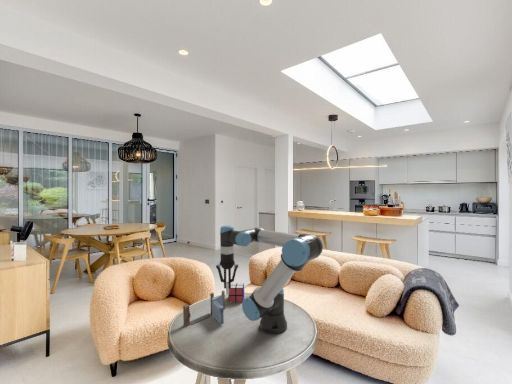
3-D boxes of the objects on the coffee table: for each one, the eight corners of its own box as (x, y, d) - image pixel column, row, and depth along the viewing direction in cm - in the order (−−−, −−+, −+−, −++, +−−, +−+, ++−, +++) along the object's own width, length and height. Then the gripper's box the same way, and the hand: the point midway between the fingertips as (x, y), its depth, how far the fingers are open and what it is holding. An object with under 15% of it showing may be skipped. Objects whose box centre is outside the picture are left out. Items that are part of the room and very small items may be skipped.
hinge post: (215, 313, 172) (214, 292, 172) (212, 315, 170) (211, 294, 170) (212, 312, 174) (212, 291, 173) (209, 313, 172) (209, 293, 172)
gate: (212, 313, 170) (211, 298, 170) (214, 313, 171) (214, 297, 170) (220, 324, 157) (220, 307, 157) (223, 323, 158) (223, 307, 158)
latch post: (190, 325, 158) (190, 305, 158) (186, 327, 156) (186, 307, 156) (187, 323, 160) (187, 304, 160) (183, 325, 158) (183, 305, 158)
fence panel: (225, 308, 179) (225, 291, 178) (215, 313, 173) (215, 295, 172) (223, 307, 180) (223, 290, 180) (213, 312, 174) (213, 294, 174)
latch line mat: (212, 315, 170) (212, 315, 170) (191, 325, 159) (191, 324, 159) (208, 313, 172) (208, 313, 172) (187, 323, 161) (187, 322, 161)
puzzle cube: (243, 302, 188) (243, 288, 188) (228, 302, 188) (228, 288, 188) (244, 296, 198) (244, 282, 198) (230, 296, 198) (229, 282, 198)
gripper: (238, 251, 164) (238, 290, 165) (216, 251, 163) (216, 291, 164) (238, 254, 156) (238, 296, 157) (215, 254, 156) (215, 296, 156)
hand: (227, 293), depth 161 cm, fingers closed
